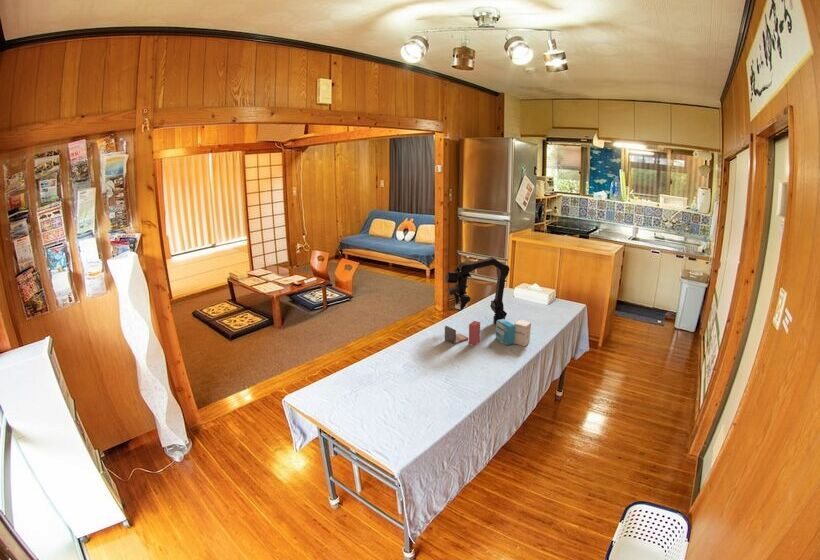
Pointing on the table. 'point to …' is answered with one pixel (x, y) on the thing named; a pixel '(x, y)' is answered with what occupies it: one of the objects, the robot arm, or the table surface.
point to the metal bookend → (450, 335)
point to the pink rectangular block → (474, 333)
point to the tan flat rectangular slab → (460, 338)
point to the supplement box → (522, 332)
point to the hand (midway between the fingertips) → (458, 307)
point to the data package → (505, 331)
